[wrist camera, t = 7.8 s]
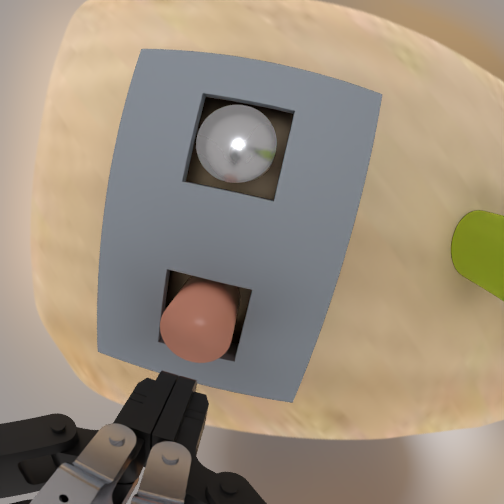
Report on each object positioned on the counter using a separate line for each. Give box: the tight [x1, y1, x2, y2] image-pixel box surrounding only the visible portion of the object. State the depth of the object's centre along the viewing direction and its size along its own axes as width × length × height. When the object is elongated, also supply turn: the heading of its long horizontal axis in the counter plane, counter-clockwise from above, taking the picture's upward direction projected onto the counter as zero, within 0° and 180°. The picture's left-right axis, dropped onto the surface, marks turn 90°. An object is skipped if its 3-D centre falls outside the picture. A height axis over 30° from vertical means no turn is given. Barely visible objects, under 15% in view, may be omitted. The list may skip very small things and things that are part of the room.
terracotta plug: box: [160, 276, 240, 363], centre depth 18 cm, size 4×4×5 cm
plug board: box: [97, 49, 382, 403], centre depth 19 cm, size 14×20×5 cm
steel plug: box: [196, 105, 277, 183], centre depth 17 cm, size 4×4×5 cm
